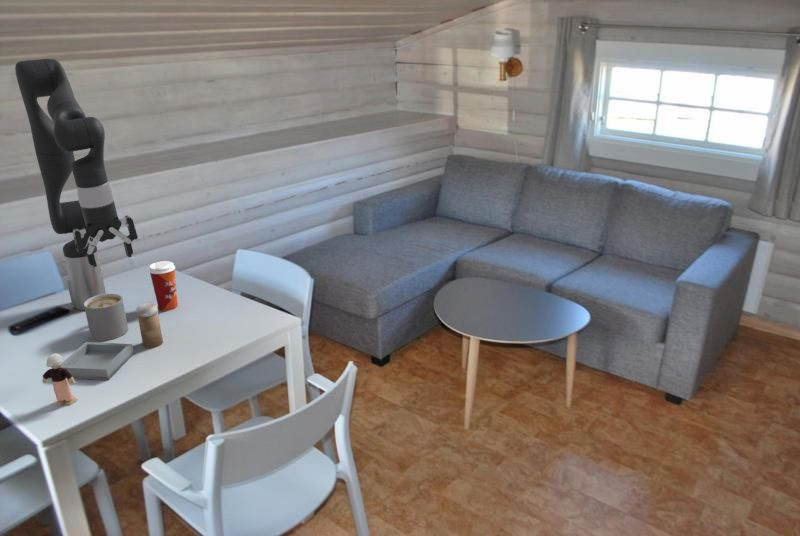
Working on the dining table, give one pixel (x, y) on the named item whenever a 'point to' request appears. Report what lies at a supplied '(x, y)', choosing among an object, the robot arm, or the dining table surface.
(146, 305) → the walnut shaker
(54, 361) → the grandmother figurine
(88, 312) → the coffee mug
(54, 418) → the dining table surface
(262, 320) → the dining table surface
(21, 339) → the dining table surface
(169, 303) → the paper cup
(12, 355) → the dining table surface
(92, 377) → the stoneware tray
